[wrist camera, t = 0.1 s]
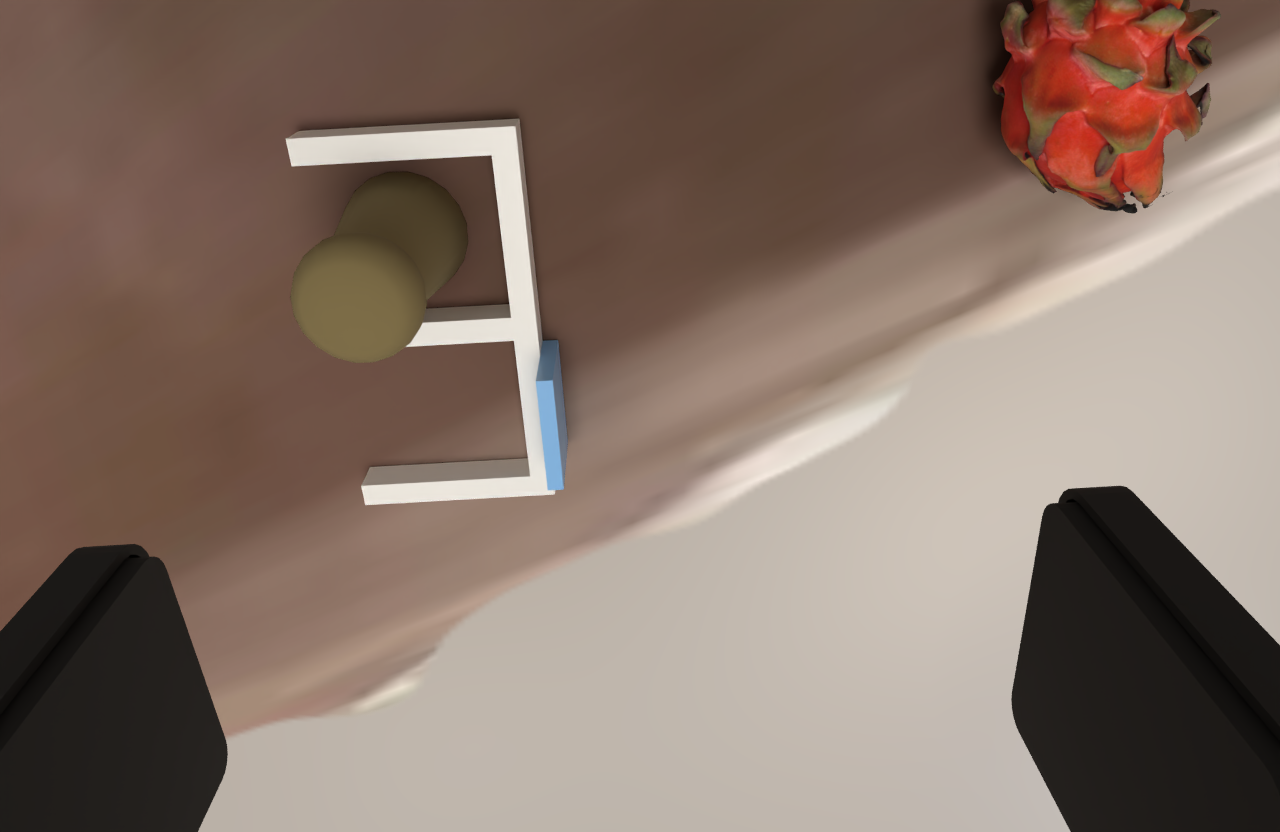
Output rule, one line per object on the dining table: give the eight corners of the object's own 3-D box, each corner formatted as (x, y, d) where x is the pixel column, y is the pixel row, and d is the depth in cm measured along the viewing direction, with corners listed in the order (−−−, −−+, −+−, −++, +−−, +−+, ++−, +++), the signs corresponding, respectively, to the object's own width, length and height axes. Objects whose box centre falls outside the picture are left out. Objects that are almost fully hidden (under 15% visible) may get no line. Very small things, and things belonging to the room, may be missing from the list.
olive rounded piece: (342, 284, 46) (270, 375, 36) (343, 162, 44) (265, 225, 34) (464, 299, 47) (425, 393, 37) (472, 180, 44) (432, 248, 34)
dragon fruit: (1036, -82, 41) (1071, 158, 48) (924, 9, 38) (979, 252, 45) (1248, -120, 35) (1255, 164, 41) (1134, -14, 32) (1162, 274, 38)
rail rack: (299, 130, 43) (262, 152, 38) (536, 117, 43) (528, 137, 38) (374, 485, 52) (351, 536, 47) (571, 474, 52) (567, 524, 47)
